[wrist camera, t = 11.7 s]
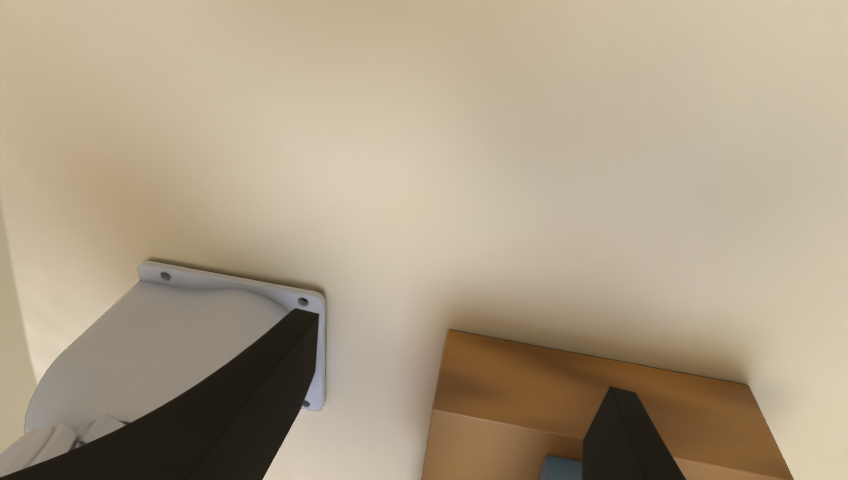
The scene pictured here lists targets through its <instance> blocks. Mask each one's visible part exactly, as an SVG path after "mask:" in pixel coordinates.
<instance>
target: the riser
mask: <svg viewBox="0 0 848 480" xmlns="http://www.w3.org/2000/svg"><path fill="white" fill-rule="evenodd" d="M610 386H612V387H616V388H620V389H624V390H629V391H633V392H636V394H637V395H638V397H639V399H640V401H641V402H642V404H643V406H644V408H645V409H646V411H647V413H648V415H649V417H650V418H651V420H652V422H653V424H654V425H655V427H656V429H657V431H658V433H659V434H660V436H661V438H662V440H663V441H664V443H665V445H666V447H667V448H668V450H669V452H670V453H671V455H672V457H673V458H674V460H675V462H676V463H677V465H678V467H679V468H680V470H681V472H682V473H683V475H684V476H685V478H686V480H794V479H793V477H792V475H791V473H790V471H789V468H788V466H787V464H786V462H785V460H784V458H783V456H782V454H781V452H780V450H779V448H778V445H777V443H776V441H775V439H774V437H773V435H772V433H771V431H770V429H769V427H768V425H767V423H766V420H765V418H764V416H763V414H762V412H761V410H760V408H759V406H758V404H757V402H756V400H755V397H754V395H753V393H752V391H751V389H750V387H749V386H748V385H743V384H738V383H732V382H727V381H721V380H716V379H711V378H705V377H700V376H695V375H689V374H684V373H678V372H673V371H668V370H662V369H657V368H651V367H646V366H641V365H635V364H630V363H625V362H619V361H614V360H608V359H603V358H598V357H592V356H587V355H582V354H576V353H571V352H565V351H560V350H555V349H549V348H544V347H539V346H533V345H528V344H522V343H517V342H512V341H506V340H501V339H496V338H490V337H485V336H479V335H474V334H469V333H463V332H458V331H452V330H448V331H447V336H446V341H445V346H444V351H443V356H442V361H441V366H440V371H439V377H438V382H437V387H436V392H435V397H434V402H433V407H432V413H431V420H430V426H429V433H428V439H427V446H426V452H425V458H424V465H423V471H422V478H421V480H538V478H539V475H540V472H541V469H542V466H543V463H544V460H545V457H546V455H551V456H556V457H561V458H566V459H570V460H575V461H580V462H582V448H583V439H584V437H585V435H586V433H587V431H588V429H589V427H590V425H591V423H592V421H593V419H594V417H595V415H596V413H597V411H598V409H599V407H600V405H601V403H602V401H603V399H604V397H605V395H606V393H607V391H608V389H609V387H610Z"/></svg>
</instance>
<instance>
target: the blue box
mask: <svg viewBox="0 0 848 480" xmlns="http://www.w3.org/2000/svg"><path fill="white" fill-rule="evenodd" d="M538 480H582V462H580V461H575V460H570V459H566V458H561V457H556V456H551V455H546V457H545V460H544V463H543V466H542V469H541V472H540V475H539V478H538Z"/></svg>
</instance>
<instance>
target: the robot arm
mask: <svg viewBox="0 0 848 480" xmlns="http://www.w3.org/2000/svg"><path fill="white" fill-rule="evenodd" d="M166 273H168V274H169V275H170V276H169V275H167V274H166ZM138 275H139V280H140V281H139V282H138V283H137V284H136V285H135V286H134V287H133V288H131V289H130V290H129V291H128V292H127V293H126V294H125V295H124V296H123V297H122V298H121V299H120V300H118V301H117V302H116V303H115V304H114V305H113V306H112V307H111V308H110V309H109V310H108V311H107V312H105V313H104V314H103V315H102V316H101V317H100V318H99V319H98V320H97V321H96V322H95V323H94V324H93V325H91V326H90V327H89V328H88V329H87V330H86V331H85V332H84V333H83V334H82V335H81V336H80V337H78V338H77V339H76V340H75V341H74V342H73V343H72V344H71V345H70V346H69V347H68V348H67V349H65V350H64V351H63V352H62V353H61V354H60V355H59V356H58V357H57V358H56V360H55V361H54V362H53V363H52V364H51V366H50V367H49V368H48V370H47V371H46V372H45V374H44V376H43V377H42V379H41V380H40V382H39V384H38V386H37V388H36V390H35V392H34V394H33V396H32V398H31V400H30V403H29V406H28V409H27V413H26V417H25V424H24V435H23V436H22V437H21V438H19V439H18V440H17V441H16V442H14V443H13V444H12V445H11V446H9V447H8V448H7V449H6V450H5V451H3V452H2V453H1V454H0V480H262V479H263V477H264V476H265V474H266V472H267V470H268V468H269V466H270V465H271V463H272V461H273V459H274V457H275V455H276V454H277V452H278V450H279V448H280V446H281V444H282V443H283V441H284V439H285V437H286V435H287V433H288V432H289V430H290V428H291V426H292V424H293V422H294V420H295V419H296V417H297V415H298V413H299V411H300V409H301V408H302V409H307V410H312V411H320V410H322V409H323V407H324V404H325V331H326V301H325V298H324V296H323V295H322V294H321V293H319V292H316V291H311V290H306V289H300V288H295V287H289V286H284V285H278V284H273V283H268V282H262V281H257V280H251V279H246V278H240V277H235V276H229V275H224V274H219V273H213V272H208V271H202V270H197V269H191V268H186V267H180V266H175V265H170V264H164V263H159V262H153V261H144V262H142V263H141V264H140V265H139V266H138ZM301 298H305V299H307V300H308V302H306V301H304V300H302V299H301ZM582 480H686V478H685V476H684V475H683V473H682V472H681V470H680V468H679V467H678V465H677V463H676V462H675V460H674V458H673V457H672V455H671V453H670V452H669V450H668V448H667V447H666V445H665V443H664V441H663V440H662V438H661V436H660V434H659V433H658V431H657V429H656V427H655V425H654V424H653V422H652V420H651V418H650V417H649V415H648V413H647V411H646V409H645V408H644V406H643V404H642V402H641V401H640V399H639V397H638V395H637V394H636V392H633V391H629V390H624V389H620V388H616V387H612V386H610V387H609V389H608V391H607V393H606V395H605V397H604V399H603V401H602V403H601V405H600V407H599V409H598V411H597V413H596V415H595V417H594V419H593V421H592V423H591V425H590V427H589V429H588V431H587V433H586V435H585V437H584V439H583V448H582Z"/></svg>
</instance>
